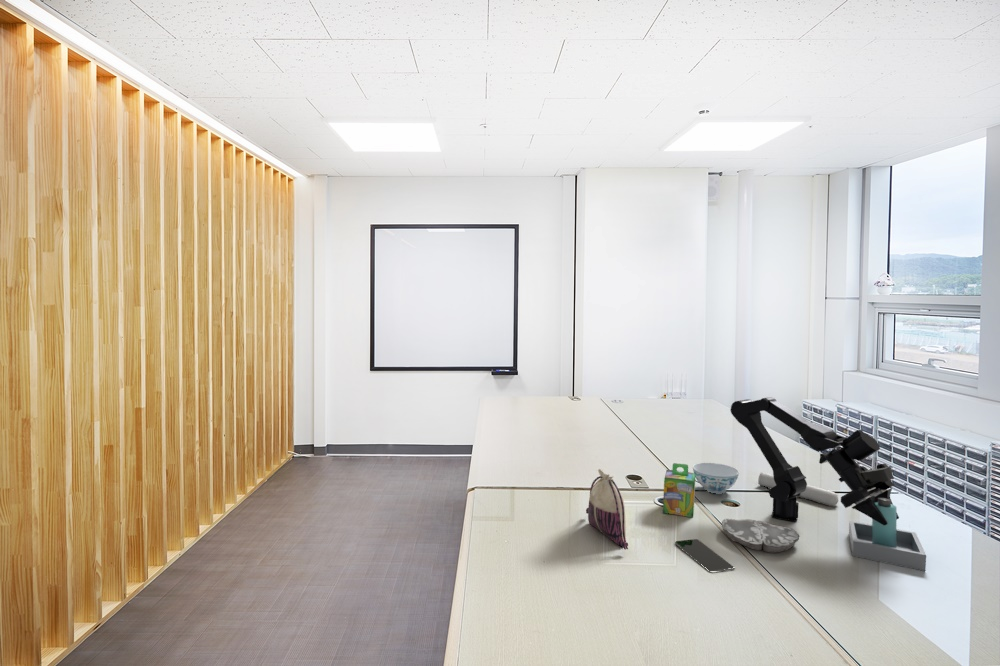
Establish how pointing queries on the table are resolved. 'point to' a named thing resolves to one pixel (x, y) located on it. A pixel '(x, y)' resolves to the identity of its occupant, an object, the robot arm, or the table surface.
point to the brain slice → (760, 535)
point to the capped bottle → (885, 532)
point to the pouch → (607, 509)
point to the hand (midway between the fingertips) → (891, 521)
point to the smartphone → (704, 555)
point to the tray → (887, 547)
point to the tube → (809, 493)
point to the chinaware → (715, 476)
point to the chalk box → (679, 491)
